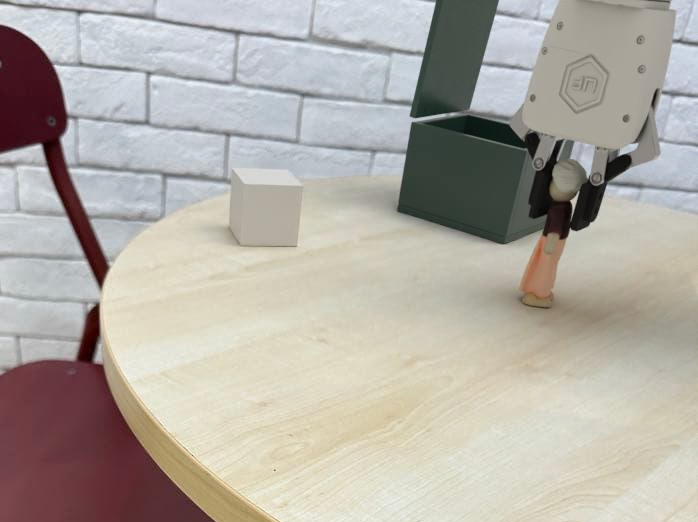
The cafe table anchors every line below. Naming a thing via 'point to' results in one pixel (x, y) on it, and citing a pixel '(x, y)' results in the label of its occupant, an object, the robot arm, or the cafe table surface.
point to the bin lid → (453, 56)
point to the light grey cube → (265, 207)
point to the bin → (471, 177)
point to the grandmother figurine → (552, 234)
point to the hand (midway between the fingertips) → (559, 220)
